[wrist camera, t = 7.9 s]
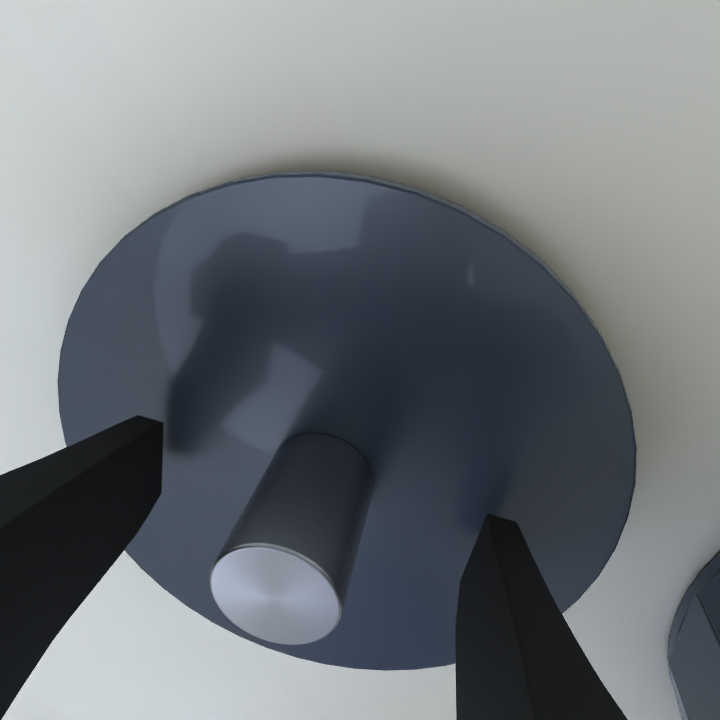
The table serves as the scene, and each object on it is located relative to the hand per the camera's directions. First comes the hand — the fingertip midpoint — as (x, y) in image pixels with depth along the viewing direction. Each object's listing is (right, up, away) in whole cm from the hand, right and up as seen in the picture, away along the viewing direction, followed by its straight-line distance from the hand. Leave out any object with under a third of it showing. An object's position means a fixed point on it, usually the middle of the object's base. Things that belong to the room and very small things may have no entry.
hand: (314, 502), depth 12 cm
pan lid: (0, +1, +1) cm, 1 cm away
